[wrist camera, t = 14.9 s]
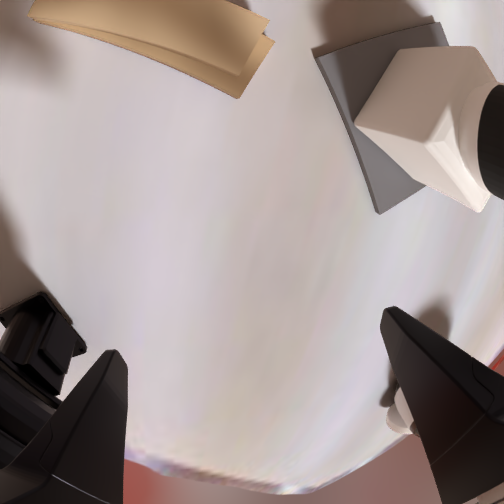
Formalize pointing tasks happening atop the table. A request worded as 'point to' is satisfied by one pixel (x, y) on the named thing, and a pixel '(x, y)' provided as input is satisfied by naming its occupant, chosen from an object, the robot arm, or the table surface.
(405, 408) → the spread jar
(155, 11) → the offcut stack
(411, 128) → the medicine bottle
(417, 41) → the rubber mat
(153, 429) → the table surface
